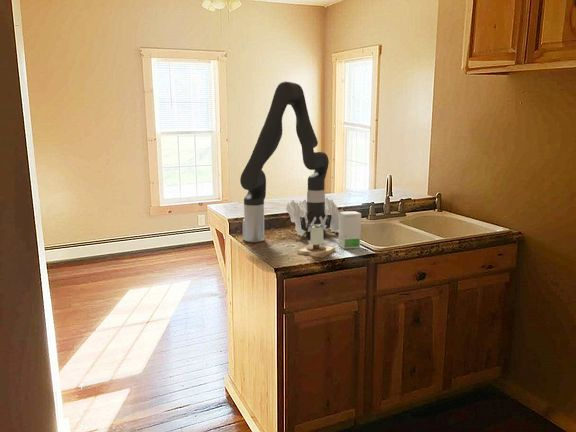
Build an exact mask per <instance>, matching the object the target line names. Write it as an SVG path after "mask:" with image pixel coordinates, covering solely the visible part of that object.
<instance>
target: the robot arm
mask: <svg viewBox="0 0 576 432" xmlns="http://www.w3.org/2000/svg"><path fill="white" fill-rule="evenodd" d="M274 91H275V92H274V94H273V97H272V101H271V105H270V108H269V110H268V113H267V115H266V118H265V121H264V124H263V126H262V128H261V130H260V132H259V135H258V138H257V141H256V143H255V146H253V147H254V148H253V151H252V153H251V155H250V157H249V160H248V162H247V164H246V165H245V167H244V169H243V170H242V173H241V175H240V185H241V187H242V188H243V190H246V191H247V193H246V196H244V199H243V215H244V217H243V220H242V240H243V241H245V242H249V243H260V242H263V241H264V240H265V199H266V196H267V179H266V178H267V177H266V174H265V172H264V171H263V168H264V166H265V164H266V163H267V162H268V161H269V159H270V158H271V157H272V155H273V154H274V153H275V152H276V150H277V148H278V147H279V144H280V141H281V140H282V137H283V136H282V135H283V118H284V117H283V116H284V113H285V111H286V109H287V106H289V105H290V106H291V108H292V110H293V111H294V114H295V115H294V116H295V130H296V131H295V132H296V135H297V139H298V142H299V143H300V145H301V154H302V162H303V165H304V167H305V168H306V169H307V170H309V171H314V172H313V173H312V174H311V175H309V176H308V177H307V192H306V202H307V215H306V216H300V222H301V229H302V230H304V231H305V239H307V241H308V240H310V230H311V228H312V227H313V225H315V224H317V225H318V224H319V225H320V226H322V227H323V229H324V230H323V240H324V239H325V238H326V233H327V232H326V229H328V228H329V229H330V224H331V217H332V215H330V214H325V199H326V192H325V182H326V181H325V179H326V176H327V173H328V169H329V162H330V160H329V157H328V155H327V153H326V152H323V151H317V152H315V149H314V148H316V147H317V146H318V144H319V141H318V138H317V136H316V132H315V130H314V128H313V125H312V123H311V119H310V116H309V111H308V107H307V102H306V98H305V92H304V89H303V87H302V86H301V84H298V83H295V82H292V81H291V82H290V81H287V80H286V81H282V82H279V83H278V85H277V87H276V88H275V90H274ZM324 218H326V222H325V224H324V221H323V219H324ZM306 219H308V223H306V222H305V221H306ZM310 223H311V224H310ZM306 225H307V226H306ZM329 229H328V230H329Z"/></svg>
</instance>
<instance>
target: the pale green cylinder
mask: <svg viewBox="0 0 576 432" xmlns="http://www.w3.org/2000/svg"><path fill="white" fill-rule="evenodd" d="M323 230H324V229H323V227H322V226H320V225H318V224H317V225H313V227H312V228H311V230H310V240H307V243H308V244H313V245H319V244H320V245H323V244H324V239H323Z"/></svg>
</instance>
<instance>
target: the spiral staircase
mask: <svg viewBox="0 0 576 432" xmlns="http://www.w3.org/2000/svg"><path fill="white" fill-rule="evenodd" d="M333 200H334V199H329V198H328V197H325V214H330V215H332V217H331V224H330V228H328V229H326V233H327V232H328V230H329V229H330V232H331V233H333V232H334V234H336V233H337V232H339V212H340V211H339V208H338V206H337V204H336V203H335V201H333ZM285 210H286V211H287V213H288V214H289V216H290V221H291V223H294V224H295V228H294V230H295V231H296V232H297V235H296V236H300V237H301V238H302V237H303V236H304V234H306V231H304V230H302V229H301V222H300V216H306V215H307V199H304V200H303V201H299V202H295V201H294V199H293V200H291V201H290V202H287V205H286V209H285ZM323 221H324V224H325V222H326V218H324V219H323ZM305 223H306V226H307V223H308V219H306V221H305ZM310 224H311V223H310ZM315 225H319V224H315Z"/></svg>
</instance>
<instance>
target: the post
mask: <svg viewBox="0 0 576 432" xmlns="http://www.w3.org/2000/svg"><path fill="white" fill-rule="evenodd" d="M335 249H336V247H334V246H329V245H323V244H319V245H313V244H309V243H308V244H306V245H305V246H303V247H301V248H298V249H297V250H296V253H297V255H304V256H310V257H317V258H322V259H323V258H325V257H327V256H328V255H330V254H331V253H333V252H335Z"/></svg>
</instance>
